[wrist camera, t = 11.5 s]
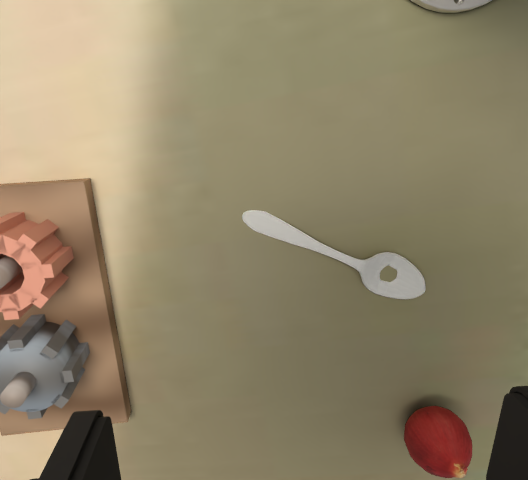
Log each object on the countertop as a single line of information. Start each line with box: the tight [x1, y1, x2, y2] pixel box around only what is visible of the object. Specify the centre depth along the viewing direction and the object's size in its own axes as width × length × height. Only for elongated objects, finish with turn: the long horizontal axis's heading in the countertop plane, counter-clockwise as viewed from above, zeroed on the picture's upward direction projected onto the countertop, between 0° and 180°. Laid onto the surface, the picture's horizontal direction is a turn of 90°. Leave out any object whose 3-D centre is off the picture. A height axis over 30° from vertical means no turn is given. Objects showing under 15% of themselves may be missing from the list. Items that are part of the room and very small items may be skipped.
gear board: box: [0, 179, 131, 436], centre depth 31 cm, size 22×11×8 cm, turn 3°
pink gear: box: [0, 212, 74, 320], centre depth 30 cm, size 7×7×4 cm
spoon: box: [242, 210, 425, 299], centre depth 35 cm, size 4×21×2 cm, turn 66°
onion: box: [404, 406, 472, 478], centre depth 38 cm, size 6×6×8 cm
